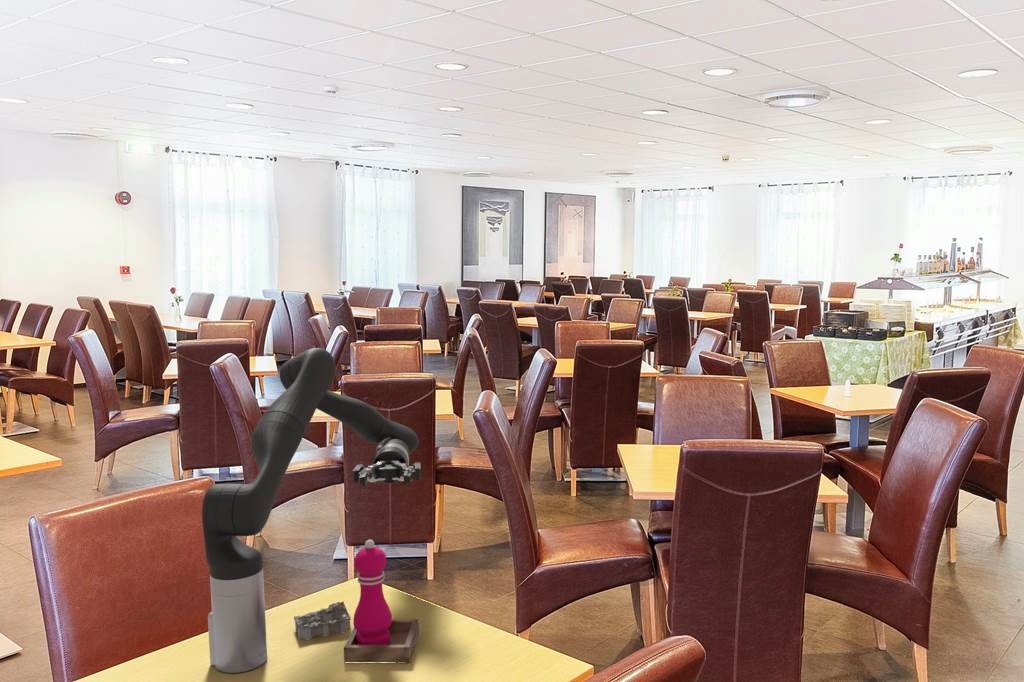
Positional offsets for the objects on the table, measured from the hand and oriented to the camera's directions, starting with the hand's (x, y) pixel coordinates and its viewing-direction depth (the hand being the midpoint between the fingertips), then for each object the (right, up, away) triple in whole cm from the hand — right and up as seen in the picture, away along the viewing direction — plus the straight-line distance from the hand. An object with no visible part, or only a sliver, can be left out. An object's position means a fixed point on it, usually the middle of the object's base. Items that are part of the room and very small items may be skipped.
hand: (384, 481), depth 174 cm
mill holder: (+2, -29, -14) cm, 32 cm away
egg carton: (-12, -29, -5) cm, 32 cm away
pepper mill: (0, -29, -14) cm, 32 cm away
